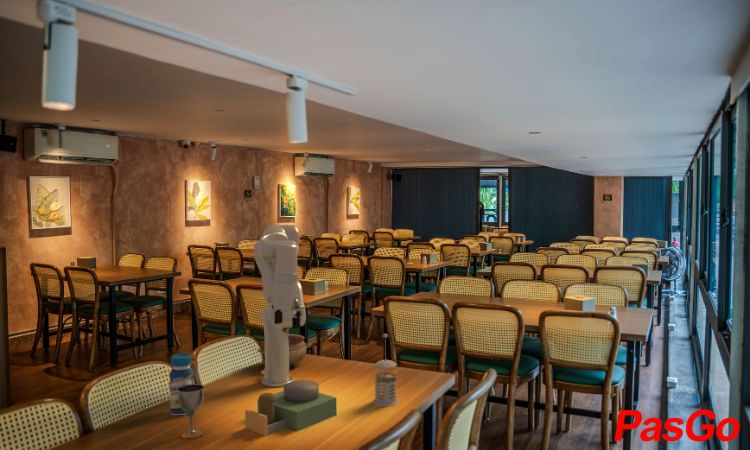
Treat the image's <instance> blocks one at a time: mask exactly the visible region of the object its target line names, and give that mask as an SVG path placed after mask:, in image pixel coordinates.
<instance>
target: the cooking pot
mask: <svg viewBox="0 0 750 450" xmlns="http://www.w3.org/2000/svg"><path fill="white" fill-rule="evenodd" d="M285 334H286V335H287V337H288V340H289V368H291V367H293V366H295V365H297V364H298V363H299V362H301V361H302V360H303V359H304V358H305V357H306V353H307V349H308V348H310V347H311V346H312V343H311V342H306V343H305V341H304V340H305V336H303V335H300V334H296V333H295V334H293V333H285ZM257 352H258V353H260V354H263V357H264V358H265V345H264V346H263V349H260V348H258V349H257Z"/></svg>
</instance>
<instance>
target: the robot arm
mask: <svg viewBox="0 0 750 450" xmlns="http://www.w3.org/2000/svg"><path fill="white" fill-rule="evenodd" d="M300 238H301V237H300V231H299V228H298V227H297V225H294V224H278V225H277V224H275V225H269V226H267V227H266V228H264V230H263V233H262V237H260V238H259V240H258V241H256V243H254V246H253V255H254V259H255V263H256V266H257V268H258V269H259V270H258V271H259V272H260V274H261V282H262V284H261V285H262V293H263V297H264V298H263V299H264V301H265V302H266V303H267V304H270V305H268V306H265V307H263V310H262V311H261V320H262V325H263V332H264V333H263V334H264V335H263V336H264V346H265V357H264V368H263V370H261V371H260V375H264V377H263V378H262V379H261V384H262V385H263V386H265V387H270V388H271V387H272V388H276V387H284V385H285V384H286V383H289V382H292V381H294V378H293V376H291V375H290V367H289V340H288V337H287V335H286V334H287V333H286V332H285V331H284V330H283V329H286V328H287V329H289V328H292V329H293V330H295V329H299V328H301V327H303V326H304V325H305V324H306V321H307V316H306V315H307V312H306V306H305V298H304V293H303V286H302V284H301V282H299V280H298V256H299V255H300V248H299V244H300Z"/></svg>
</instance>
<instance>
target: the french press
mask: <svg viewBox="0 0 750 450" xmlns="http://www.w3.org/2000/svg"><path fill="white" fill-rule="evenodd" d="M388 337H389V335H388V334H387V333H384V334H382V338H384V356H385V357H384V358H385V359H381V360H378V361H377V362H375V363H374V367H375V368H377V369H380V370H381V369H384V371H385V372H384V371H382V372H380V370H379V371H377V373H376V374H375V377H376V378H375V379H374V381H375V382H374V386H375V387H374V389H375V390H374V393H375V394H374V396H375V398H374V399H372V400H373V401H372V404H373V405H375V406H379V407H393V406H396V405H398V404H399V403H400V401H399V399H398V398H397V378H396V374H395V373H391V372H387V369H393V368H395V367H396V366H397V364H398V363H396V361H395V362H394V361H393V360H389V359H387V357H386V355H387V352H386V351H387V350H386V349H387V348H386V347H387V345H386V339H387V338H388Z"/></svg>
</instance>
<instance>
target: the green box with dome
mask: <svg viewBox="0 0 750 450" xmlns="http://www.w3.org/2000/svg"><path fill="white" fill-rule="evenodd" d="M319 385H320V384H319V383H318V382H317V381H313V380H308V379H307V380H305V379H303V380H301V379H300V380H293V381H292V382H289V383H286V384H285V385H284V386H283V390H281V391H278V392H275V393H273V394H274V396H275V402H274V403H273V405H274V411H275V418H276V422H275V423H273V424H270V425H268V424H267V416H266V415H263V414H260V405H261V404H260V403H259V398H257V411H253V410H251V409H249V408H247V409H245V411H244V413H245V414H244V415H245V417H244V419H245V422H244V423H245V429H247V430H248V431H249V430H250V431H253V432H255V433H257V434H260V435H262V436H264V437H266V436H268V435H270V434H273V433H276V432H278V431H281V430H283V429H285V428H287V429H288V428H289V429H291V430H294V431H297V432H299V431H301V430H304V429H305V428H309V427H311V426H313V425H315V424H318V423H320V422H322V421H325V420H327V419H331V418H333V417H335V416H337V414H338V413H337V411H338V410H337V397H335V396H332V395H329V394H325V393H322V392H319V391H320V389H319V387H320V386H319Z"/></svg>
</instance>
